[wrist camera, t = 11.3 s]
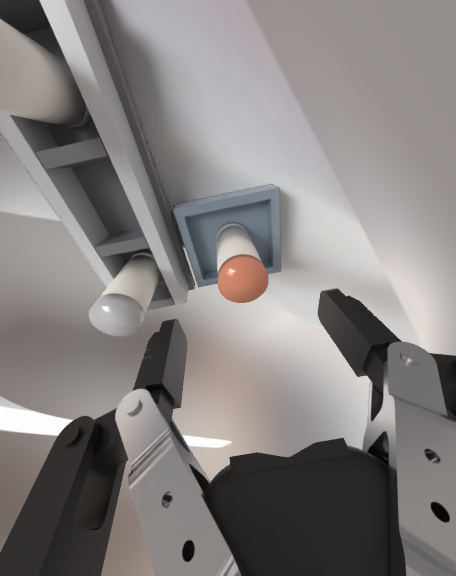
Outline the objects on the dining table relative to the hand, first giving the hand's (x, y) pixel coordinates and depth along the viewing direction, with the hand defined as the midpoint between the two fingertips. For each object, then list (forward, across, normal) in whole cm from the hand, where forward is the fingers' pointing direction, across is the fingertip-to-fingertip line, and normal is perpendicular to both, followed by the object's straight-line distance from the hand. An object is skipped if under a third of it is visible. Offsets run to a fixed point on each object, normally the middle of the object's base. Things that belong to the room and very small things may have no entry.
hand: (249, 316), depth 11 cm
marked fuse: (+12, 0, 0) cm, 12 cm away
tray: (+13, 0, 0) cm, 13 cm away
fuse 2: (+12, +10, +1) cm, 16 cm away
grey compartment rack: (+14, +10, -6) cm, 18 cm away
